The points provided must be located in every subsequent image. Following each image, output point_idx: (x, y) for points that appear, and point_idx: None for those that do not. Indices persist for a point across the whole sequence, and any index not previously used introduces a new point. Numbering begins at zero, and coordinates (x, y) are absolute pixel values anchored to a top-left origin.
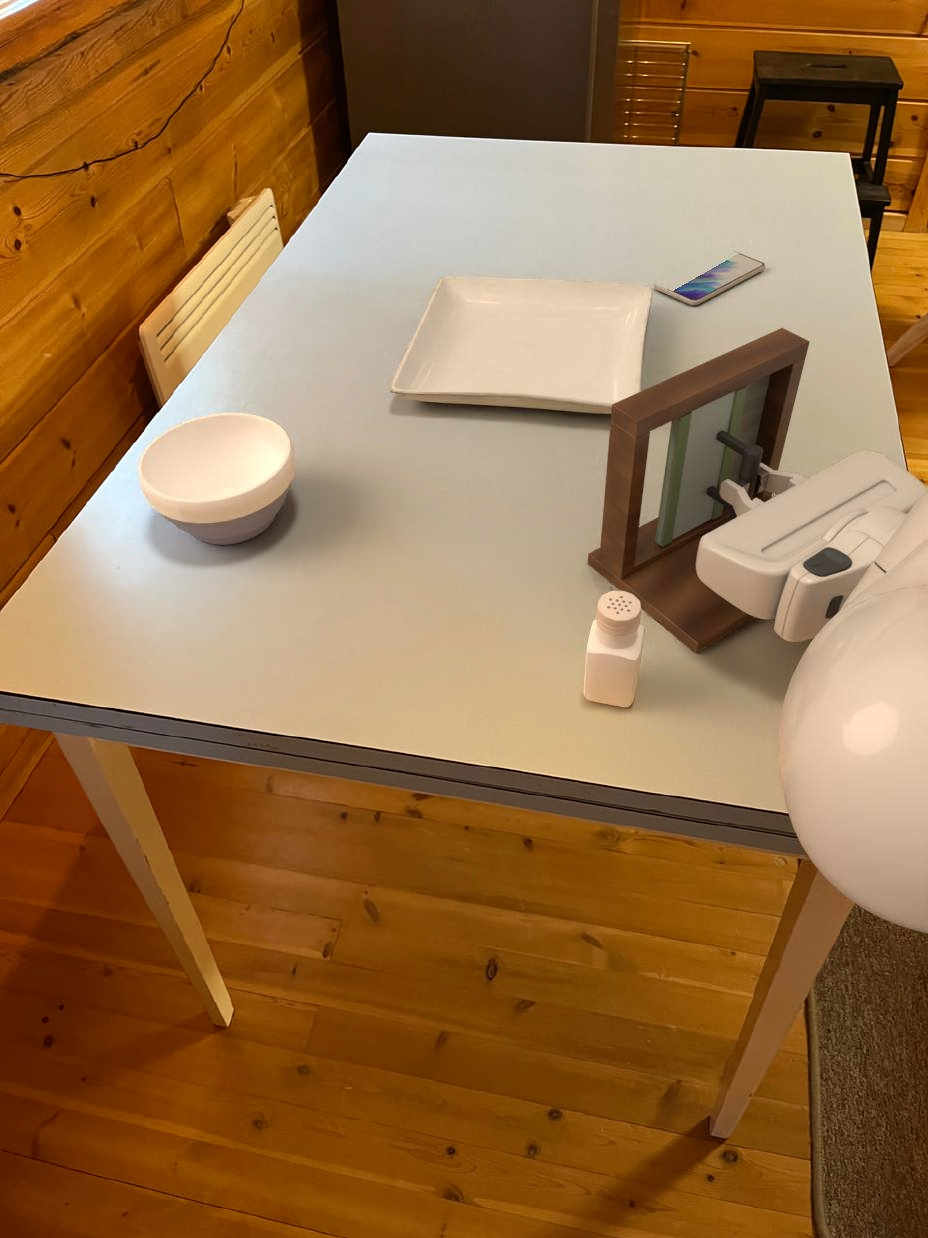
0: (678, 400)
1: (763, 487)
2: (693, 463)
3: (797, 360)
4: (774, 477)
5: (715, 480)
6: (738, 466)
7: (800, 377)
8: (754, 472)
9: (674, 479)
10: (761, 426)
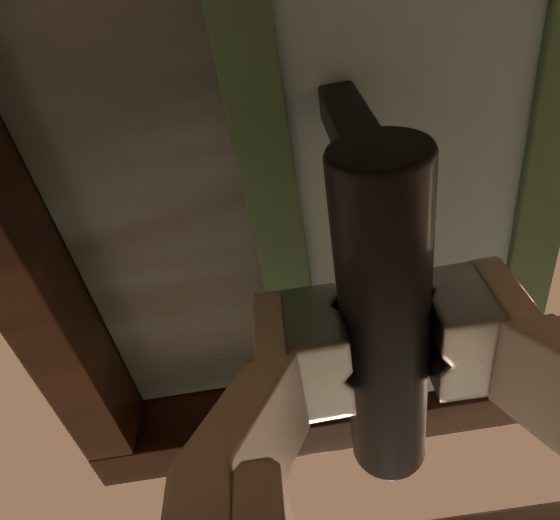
0: None
1: (315, 365)
2: (456, 243)
3: (121, 458)
4: (296, 440)
5: (309, 138)
6: (69, 77)
7: (65, 425)
8: (407, 426)
9: (558, 214)
10: (56, 237)
